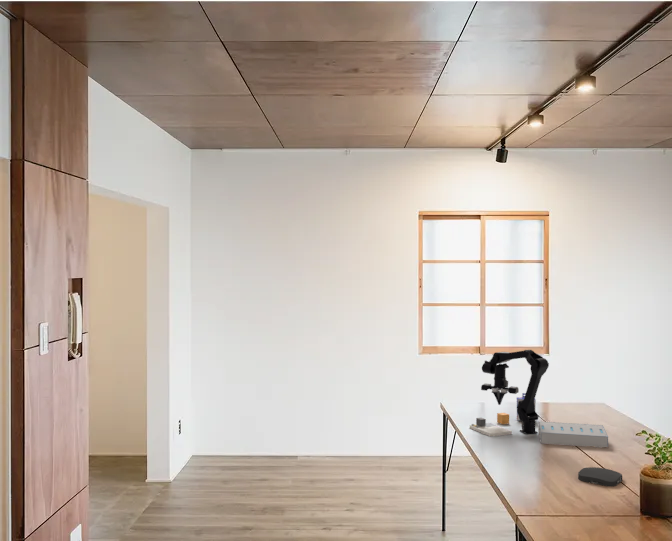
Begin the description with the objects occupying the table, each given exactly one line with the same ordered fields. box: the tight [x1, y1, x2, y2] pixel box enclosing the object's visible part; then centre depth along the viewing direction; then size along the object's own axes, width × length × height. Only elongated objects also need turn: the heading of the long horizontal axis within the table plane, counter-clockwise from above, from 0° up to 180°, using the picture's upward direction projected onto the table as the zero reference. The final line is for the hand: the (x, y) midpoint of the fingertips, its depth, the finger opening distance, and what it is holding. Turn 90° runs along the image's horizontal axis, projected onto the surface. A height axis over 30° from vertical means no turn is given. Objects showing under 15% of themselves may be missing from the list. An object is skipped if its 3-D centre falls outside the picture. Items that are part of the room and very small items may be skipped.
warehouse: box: [537, 421, 609, 448], centre depth 307 cm, size 30×14×8 cm, turn 76°
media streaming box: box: [577, 466, 623, 487], centre depth 252 cm, size 15×15×3 cm
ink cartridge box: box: [516, 392, 537, 422], centre depth 350 cm, size 10×6×14 cm, turn 81°
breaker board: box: [469, 422, 513, 438], centre depth 326 cm, size 18×13×2 cm
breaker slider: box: [475, 417, 487, 426], centre depth 331 cm, size 4×3×4 cm
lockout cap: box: [496, 412, 510, 425], centre depth 343 cm, size 4×4×5 cm
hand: (499, 404), depth 339 cm, fingers closed
